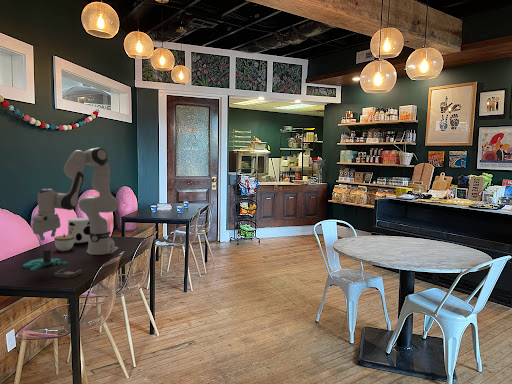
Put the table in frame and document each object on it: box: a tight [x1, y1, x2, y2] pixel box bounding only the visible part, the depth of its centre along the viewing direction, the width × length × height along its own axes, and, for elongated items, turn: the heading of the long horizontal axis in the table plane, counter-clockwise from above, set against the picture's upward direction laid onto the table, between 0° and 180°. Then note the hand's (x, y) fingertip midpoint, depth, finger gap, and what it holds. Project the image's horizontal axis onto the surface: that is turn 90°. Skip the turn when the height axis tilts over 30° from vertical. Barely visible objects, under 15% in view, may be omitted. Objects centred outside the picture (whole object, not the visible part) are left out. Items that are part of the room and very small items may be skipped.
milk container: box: [67, 217, 90, 245], centre depth 290 cm, size 17×17×18 cm
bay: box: [52, 268, 83, 279], centre depth 209 cm, size 9×11×2 cm
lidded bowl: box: [53, 233, 75, 252], centre depth 267 cm, size 13×13×11 cm
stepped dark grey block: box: [40, 248, 55, 264], centre depth 228 cm, size 4×7×8 cm, turn 84°
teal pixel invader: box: [22, 257, 68, 272], centre depth 229 cm, size 20×2×20 cm
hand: (48, 238), depth 228 cm, fingers open, 8 cm apart
